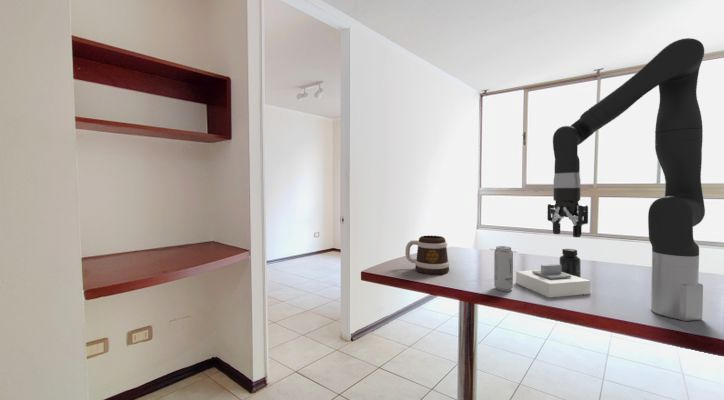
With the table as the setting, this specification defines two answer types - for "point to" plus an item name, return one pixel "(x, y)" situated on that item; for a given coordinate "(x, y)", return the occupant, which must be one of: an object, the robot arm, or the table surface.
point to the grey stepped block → (551, 271)
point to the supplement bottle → (570, 262)
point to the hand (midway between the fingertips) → (566, 235)
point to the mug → (430, 255)
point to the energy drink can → (503, 268)
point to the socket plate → (553, 284)
